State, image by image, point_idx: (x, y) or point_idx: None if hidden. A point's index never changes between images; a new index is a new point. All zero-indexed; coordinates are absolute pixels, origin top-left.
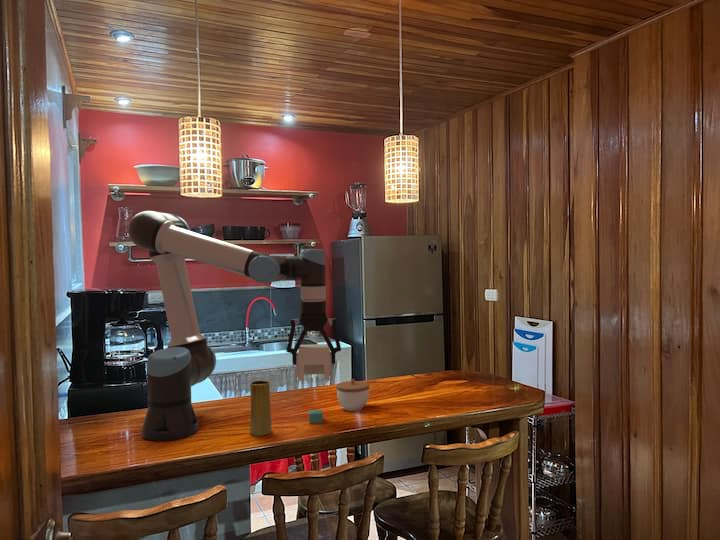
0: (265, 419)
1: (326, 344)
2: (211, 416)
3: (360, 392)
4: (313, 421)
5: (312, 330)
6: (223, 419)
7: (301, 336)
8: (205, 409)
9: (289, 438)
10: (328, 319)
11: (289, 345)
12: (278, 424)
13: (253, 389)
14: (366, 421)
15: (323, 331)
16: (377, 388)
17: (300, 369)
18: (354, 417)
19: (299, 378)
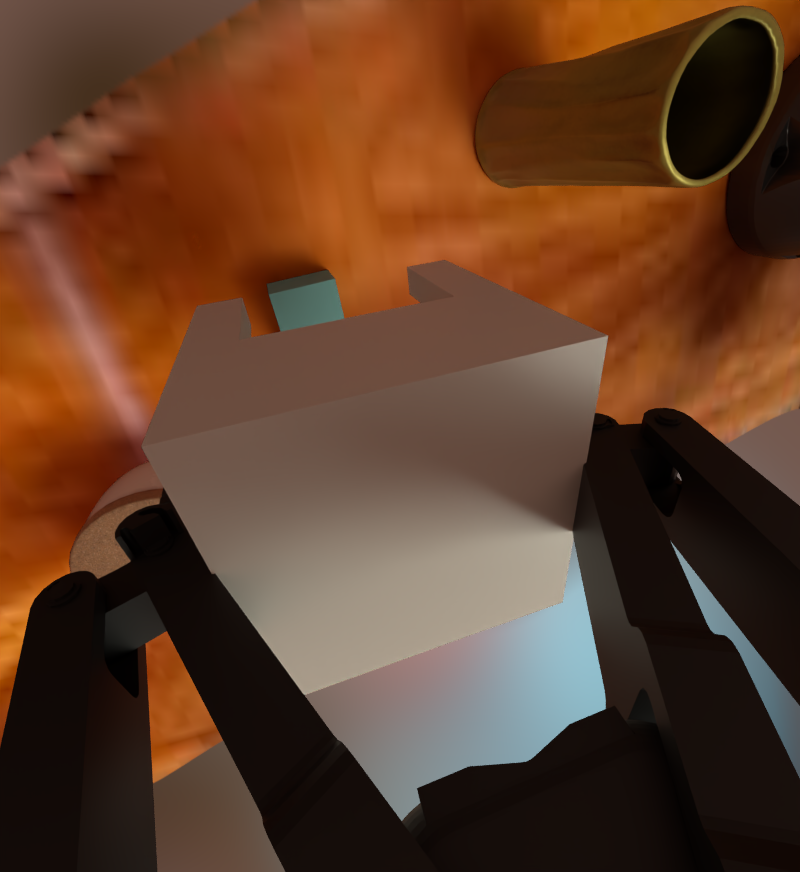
0: (537, 74)
1: (299, 684)
2: (672, 341)
3: (104, 504)
4: (310, 276)
5: (557, 765)
6: (641, 311)
7: (665, 581)
8: (680, 407)
9: (380, 10)
10: None
11: (704, 450)
12: (456, 256)
13: (737, 41)
14: (35, 316)
15: (306, 823)
16: (168, 694)
17: (466, 281)
18: (132, 373)
19: (444, 264)
